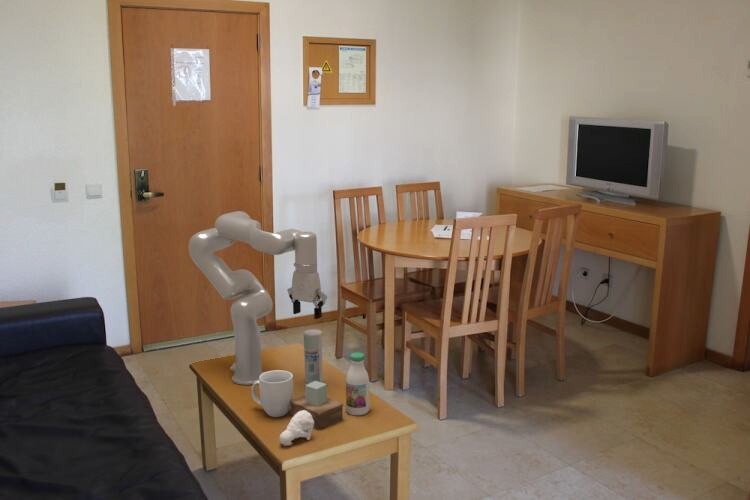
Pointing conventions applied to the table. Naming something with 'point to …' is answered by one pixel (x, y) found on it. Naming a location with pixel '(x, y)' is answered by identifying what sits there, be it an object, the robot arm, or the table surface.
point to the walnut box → (319, 411)
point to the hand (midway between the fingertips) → (307, 315)
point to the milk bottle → (357, 386)
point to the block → (316, 393)
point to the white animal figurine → (298, 427)
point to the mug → (275, 392)
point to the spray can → (313, 355)
